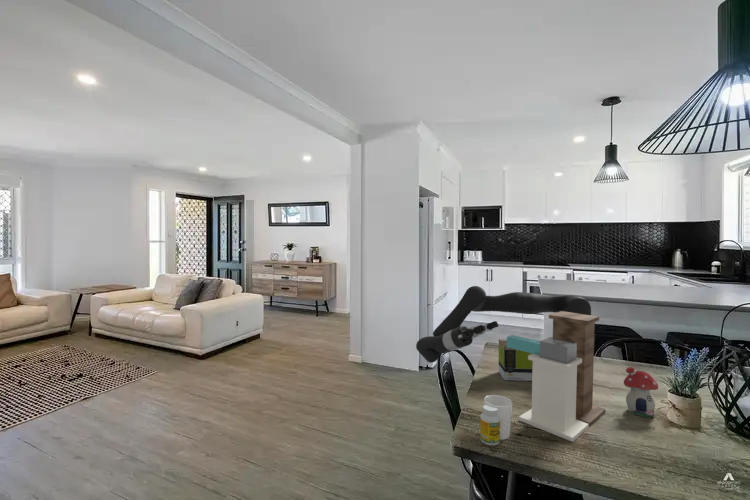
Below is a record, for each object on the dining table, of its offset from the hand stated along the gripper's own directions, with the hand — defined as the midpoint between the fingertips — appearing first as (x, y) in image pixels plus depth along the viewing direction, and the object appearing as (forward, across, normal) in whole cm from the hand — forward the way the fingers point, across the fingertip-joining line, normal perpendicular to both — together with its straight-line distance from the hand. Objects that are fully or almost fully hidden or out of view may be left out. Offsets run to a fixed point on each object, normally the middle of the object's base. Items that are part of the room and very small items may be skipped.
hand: (490, 325), depth 130 cm
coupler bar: (+13, -1, +13) cm, 18 cm away
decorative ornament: (+21, +29, +42) cm, 55 cm away
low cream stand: (+7, -1, +34) cm, 35 cm away
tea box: (-16, +28, +22) cm, 39 cm away
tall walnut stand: (+7, +13, +34) cm, 37 cm away
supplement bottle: (0, -24, +30) cm, 39 cm away
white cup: (0, -19, +30) cm, 36 cm away
